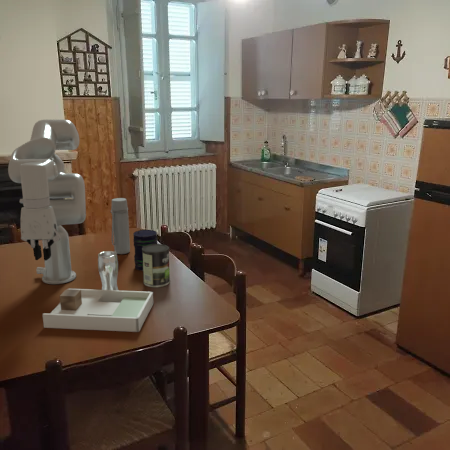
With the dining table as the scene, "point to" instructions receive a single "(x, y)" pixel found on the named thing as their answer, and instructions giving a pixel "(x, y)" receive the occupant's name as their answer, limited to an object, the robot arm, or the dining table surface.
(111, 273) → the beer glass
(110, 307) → the box
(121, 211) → the water bottle
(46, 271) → the robot arm
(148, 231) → the storage jar
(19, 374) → the dining table surface
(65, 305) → the walnut block
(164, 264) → the coffee can
